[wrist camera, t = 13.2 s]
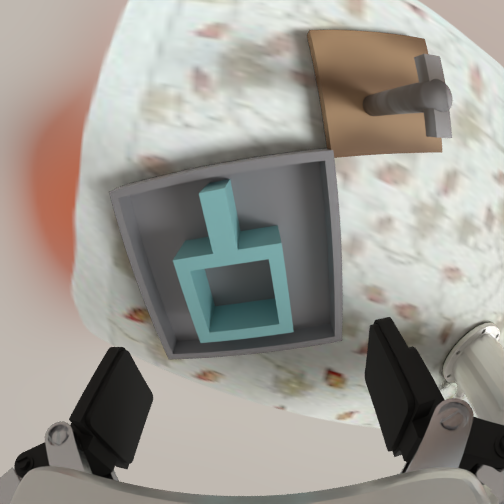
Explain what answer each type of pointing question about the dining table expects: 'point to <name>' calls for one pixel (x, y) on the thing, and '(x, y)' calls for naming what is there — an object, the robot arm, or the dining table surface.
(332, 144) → the stake board
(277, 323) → the teal hollow frame
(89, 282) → the dining table surface
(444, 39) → the dining table surface
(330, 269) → the tray
